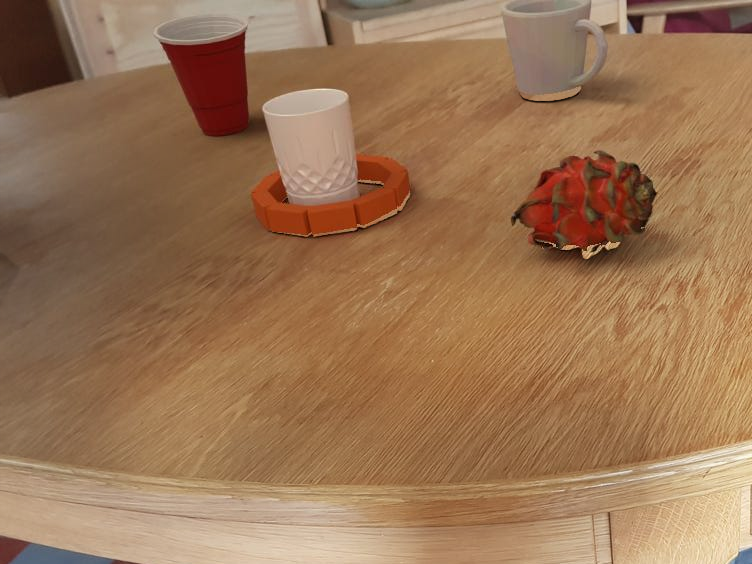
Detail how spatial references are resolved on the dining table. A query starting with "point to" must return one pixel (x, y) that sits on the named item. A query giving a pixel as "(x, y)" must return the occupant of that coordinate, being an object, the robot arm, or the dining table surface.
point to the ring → (333, 214)
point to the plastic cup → (210, 68)
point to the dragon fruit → (587, 203)
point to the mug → (551, 44)
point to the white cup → (314, 145)
